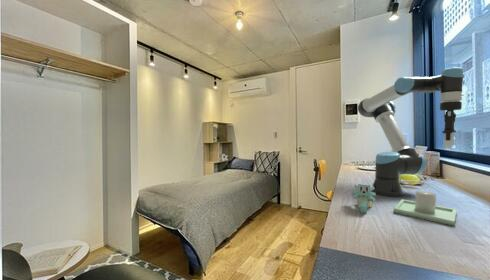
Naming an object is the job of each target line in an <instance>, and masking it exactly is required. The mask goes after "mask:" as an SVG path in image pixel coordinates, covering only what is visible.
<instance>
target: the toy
mask: <svg viewBox="0 0 490 280" xmlns="http://www.w3.org/2000/svg"><path fill="white" fill-rule="evenodd" d="M353 187H354V188H355V189H354V190H352V193H353V197H352V198H353V199H356V205H357V206H358V207H359V212H360V213H362V214H367V213H368V208H372V207H373V202H375V201H376V196H377V195H376V193H374V192H372V190H373V189H375V188H374V186H371V185H370V184H362V183H361V184H359V183H357V184H356V183H355V184H354V186H353ZM356 189H357V190H356ZM374 196H375V197H374ZM368 200H370V201H368Z"/></svg>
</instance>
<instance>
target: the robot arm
mask: <svg viewBox="0 0 490 280" xmlns="http://www.w3.org/2000/svg"><path fill="white" fill-rule="evenodd" d="M463 82H464V69H463V67H459V66H457V67H455V66H454V67H448V68H445V69H443V70H442V71H441V74H440V75H436V76H430V77H429V76H424V77H423V76H421V77H420V76H413V77H412V76H403V77H402V76H401V77H398V78H397V79H396V80H395V82H394V84H392V85H391V86H389V87H387V88H386V89H384V90H382V91H380V92H378V93H377V94H375V95H373V96H371V97H366V98H364V99H363V100H361V101H360V102H359V103H358V105H357V111H358V113H359V114H360V115H361V116H362V117H364V118H373V120H374V121H375V122H376V123H379V125H380V127H381V129H382V131H383V133H384V136H385V137H386V139H387V141H388V143H389V144H390V147H391V149H392V150H393V151H384V152H379V153H377V154H376V156H375V161H374V162H375V172H374V173H375V176H374V177H375V178H374V181H373V183H372V186H374V188H375V189H373V190H371V192H374V193H376V194H377V195H380V196H385V197H394V198H395V197H396V198H397V197H402V196H403V189H402V186H401V185H402V184H401V183H400V175H418V174H422V173H423V172H424V171H425V170H426V168H427V165H428V164H427V159H426V157H425V156H424V154H422V153H417V151H416V149H415V148H414V147H410V145H409V144H410V143H408V141H407V139H406V137H405V136H404V134H403V132H402V130H401V129H400V127H399V125H398V122H397V121H396V119H395V115H396V110H397V108H396V105H395V103H394V102H393V101H395V100H397V99H399V98H401V97H403V96H406V95H408V94H410V93H420V94H431V93H436V92H440V93H439V94H440V95H439V97H440V99H439V102H440V104H439V110H440V111H445V113H444V115H443V118H444V130H442V134H444V135H443V136H444V137H443V149H444V148H445V149H446V148H447V149H448V148H449V149H452V148H453V146H454V141H455V140H454V139H455V138H454V137H455V133H457V131H456V129H455V123H456V119H457V118H456V117H457V114H456V112H455V111H459V110H462V107H463V106H462V105H463V104H462V99H463V96H465V94H464V93H463ZM372 186H371V187H372Z"/></svg>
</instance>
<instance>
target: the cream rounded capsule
mask: <svg viewBox="0 0 490 280" xmlns="http://www.w3.org/2000/svg"><path fill="white" fill-rule="evenodd" d="M436 198H437V194H436V193H434V192H430V191H425V190H417V191H415V200H414V202H415V210H416V211H418V212H421V213H426V214H435V205H436V203H437V201H436ZM436 206H437V205H436Z"/></svg>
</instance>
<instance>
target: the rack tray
mask: <svg viewBox="0 0 490 280" xmlns="http://www.w3.org/2000/svg"><path fill="white" fill-rule="evenodd" d="M394 212H395V214H398V213H400V214H399V215H402V214H404V215H403V216H407V215H409V216H408V217H411V216H413V217H412V218H415V217H418V218H417V219H420V218H422V219H421V220H424V219H426V220H425V221H429V220H430V222H433V221H434V223H438V222H439V224H442V223H443V224H444V225H446V224H448V225H447V226H451V225H452V227H456V226H455V225H456V220H457V219H456V218H457V208H451V207H446V206H442V205H435V214H426V213H421V212H418V211H416V210H415V200H414V201H413V200H408V199H403V198H401V200H400V201H399V202H398V203H397V204H396V205H395V206H394V208H393V213H394Z"/></svg>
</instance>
